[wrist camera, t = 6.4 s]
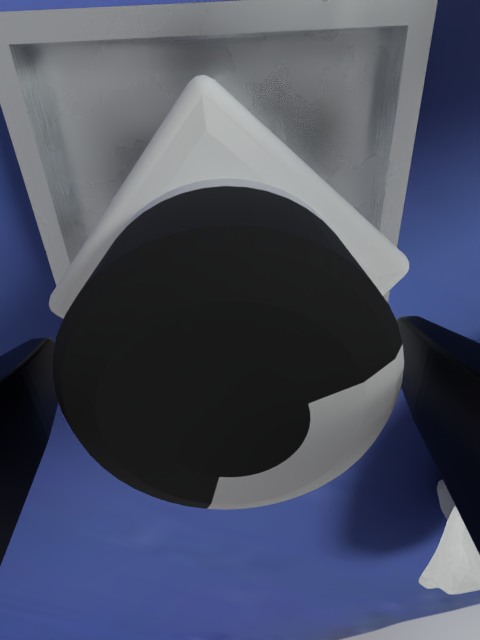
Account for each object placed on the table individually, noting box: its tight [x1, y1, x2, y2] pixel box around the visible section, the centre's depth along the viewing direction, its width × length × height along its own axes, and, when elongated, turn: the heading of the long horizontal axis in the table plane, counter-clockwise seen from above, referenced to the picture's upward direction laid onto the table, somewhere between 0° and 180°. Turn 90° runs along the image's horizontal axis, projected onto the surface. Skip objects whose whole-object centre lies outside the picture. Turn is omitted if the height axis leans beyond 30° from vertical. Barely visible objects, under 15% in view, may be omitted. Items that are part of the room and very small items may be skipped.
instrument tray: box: [0, 0, 438, 303], centre depth 17 cm, size 14×14×2 cm
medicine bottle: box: [49, 75, 409, 509], centre depth 12 cm, size 7×7×12 cm
